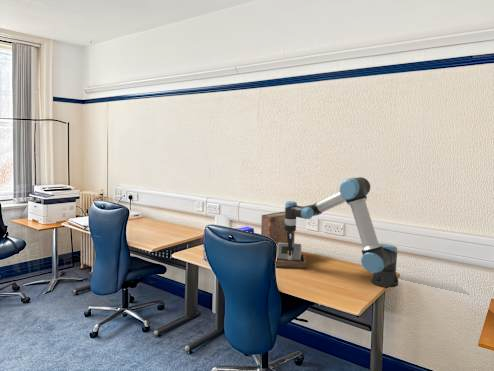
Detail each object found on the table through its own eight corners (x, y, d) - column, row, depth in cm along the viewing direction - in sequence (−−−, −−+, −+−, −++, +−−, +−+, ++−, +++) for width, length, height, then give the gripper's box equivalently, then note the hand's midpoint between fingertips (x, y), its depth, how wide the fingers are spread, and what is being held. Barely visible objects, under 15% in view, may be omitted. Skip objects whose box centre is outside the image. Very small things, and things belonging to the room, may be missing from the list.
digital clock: (275, 259, 253) (275, 243, 252) (279, 255, 261) (280, 240, 260) (299, 262, 247) (299, 246, 246) (302, 258, 255) (303, 243, 254)
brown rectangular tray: (306, 268, 246) (306, 262, 245) (273, 267, 247) (273, 261, 247) (304, 260, 263) (304, 254, 262) (273, 259, 264) (273, 253, 264)
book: (284, 250, 287) (286, 211, 283) (294, 252, 280) (295, 213, 276) (260, 256, 270) (261, 215, 267) (269, 259, 263) (270, 217, 260)
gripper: (284, 221, 262) (283, 253, 265) (285, 227, 242) (284, 262, 245) (295, 221, 262) (294, 253, 264) (296, 228, 241) (295, 263, 244)
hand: (289, 257), depth 254 cm, fingers closed on digital clock, 7 cm apart
